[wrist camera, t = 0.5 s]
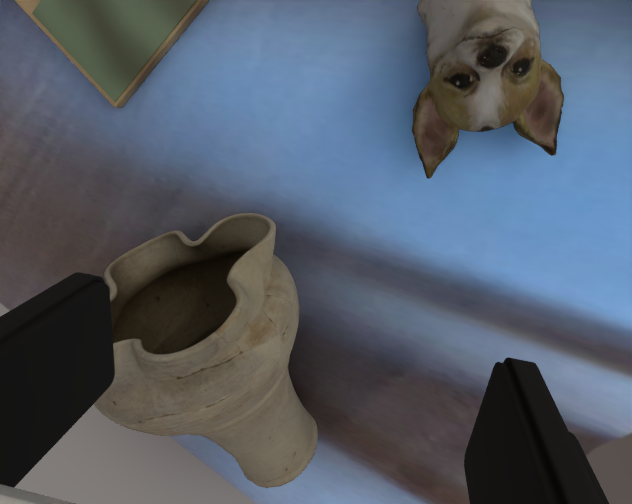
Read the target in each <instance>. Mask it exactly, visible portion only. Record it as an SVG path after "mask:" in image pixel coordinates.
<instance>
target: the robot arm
mask: <svg viewBox="0 0 632 504" xmlns="http://www.w3.org/2000/svg"><path fill="white" fill-rule="evenodd" d="M114 376H115V364H114V349H113V333H112V318H111V303H110V290H109V286H108V285H107V284H105V283H104V280H103V278H101V277H99V276H94V275H89V274H84V273H74V274H72V275H71V276H69V277H67V278H65V279H64V280H62V281H60V282H59V283H57V284H55V285H54V286H52V287H50V288H48V289H47V290H45V291H43V292H42V293H40V294H38V295H36V296H35V297H33V298H31V299H30V300H28V301H26V302H25V303H23V304H21V305H19V306H18V307H16V308H14V309H13V310H11V311H9V312H8V313H6V314H4V315H2V316H1V317H0V504H75V503H71V502H67V501H63V500H59V499H55V498H51V497H48V496H44V495H40V494H36V493H32V492H28V491H25V490H21V489H17V488H14V487H15V486H16V485H17V484H18V483H19V482H20V481H21V480H22V478H23V477H24V476H25V475H26V474H27V473H28V472H29V471H30V470H31V469H32V468H33V467H34V466H35V465H36V464H37V463H38V462H39V460H41V459H42V457H43V456H44V455H45V454H46V453H47V452H48V451H49V450H50V449H51V448H52V447H53V446H54V445H55V444H56V443H57V442H58V441H59V440H60V439H61V438H62V436H63V435H64V434H65V433H66V432H67V431H68V430H69V429H70V428H71V427H72V426H73V425H74V424H75V423H76V422H77V421H78V419H79V418H81V417H82V415H83V414H84V413H85V412H86V411H87V410H88V409H89V408H90V407H91V406H92V405H93V404H94V403H95V402H96V401H97V400H98V399H99V398H100V397H101V396H102V394H103V393H104V392H105V391H106V390H107V389H108V388H109V387H110V386H111V384H112V382H113V380H114ZM464 468H465V475H466V481H467V487H468V493H469V499H470V504H609V502H608V500H607V498H606V496H605V494H604V492H603V490H602V488H601V487H600V484H599V482H598V480H597V478H596V476H595V474H594V472H593V470H592V468H591V466H590V464H589V462H588V460H587V458H586V456H585V454H584V452H583V450H582V448H581V446H580V444H579V442H578V440H577V438H576V437H575V435H574V434H572V433H570V432H569V431H568V429H567V427H566V425H565V423H564V421H563V419H562V417H561V415H560V413H559V411H558V409H557V406H556V404H555V402H554V400H553V398H552V396H551V394H550V392H549V390H548V388H547V386H546V383H545V381H544V379H543V377H542V375H541V373H540V371H539V369H538V367H537V365H536V364H535V363H533V362H528V361H523V360H518V359H513V358H506V359H505V361H504V362H503V363H500V362H497V363H496V364H495V365H494V368H493V371H492V374H491V377H490V380H489V383H488V386H487V389H486V392H485V395H484V398H483V401H482V404H481V407H480V410H479V413H478V416H477V419H476V422H475V425H474V428H473V431H472V434H471V437H470V440H469V443H468V446H467V449H466V453H465V460H464Z"/></svg>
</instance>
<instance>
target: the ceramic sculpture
mask: <svg viewBox="0 0 632 504" xmlns="http://www.w3.org/2000/svg"><path fill="white" fill-rule="evenodd" d="M417 10H418V14H419V16H420V17H421V19H422V22H423V23H424V25H425V26H426V30H427V47H428V48H427V51H426V55H427V61H428V66H429V70H430V81H429V82H428V84H427V85H426V87H425V88H424V89H423V91H422V92H421V93H420V95H419V97H418V99H417V102H416V104H415V106H414V109H413V127H412V132H413V135H414V139H415V143H416V147H417V150H418V154H419V157H420V159H421V161H422V163H423V167H424V170H425V173H426V176H427V178H428V179H429V178H431V177H432V175H433V174H434V172H435V170H436V168H437V166H438V165H439V164H440V163H441V162H442V161H443V160H444V159H445V158H446V157H447V155H448V154H449V153H450V152H451V151H452V150H453V149H454V147H455V145H456V143H457V139H458V136H459V129H461V130H465V131H469V132H483V131H489V130H493V129H497V128H500V127H503V126H505V125H507V124H510V123H512V122H513V123H514V127H515V130H516V131H517V132H518V134H519V135H520V136H522V137H524V138H526V139H528V140H530V141H532V142H533V143H535V144H537V145H539V146H540V147H542V148H543V149H544V150H545V151H546V152H547V153H548V154H550V155H551V156H553V155H556V148H557V133H558V128H559V123H560V118H561V113H562V111H561V108H562V107H563V101H564V95H563V92H562V90H561V77H560V76H559V75H558V74H557V72H556V71H555V70H554V68H553V67H552V66H551V65H550V64H549V63H547V62H545V61H543V60H542V59H541V53H540V39H539V25H538V22H537V21H536V19H535V16H534V12H533V10H532V8H531V0H420V2H419V3H418V7H417Z"/></svg>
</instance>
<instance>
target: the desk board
mask: <svg viewBox="0 0 632 504" xmlns="http://www.w3.org/2000/svg"><path fill="white" fill-rule="evenodd" d="M15 1H16V3H17V4H18V5H19V6H20V7H21V8H22V9H23V10H24V11H25V12H26V13H27V14H28V15H29V16H30V18H31V19H32V20H33V21H34V22H35V23H36V24H37V25H38V26H39V27H40V28H41V29H42V30H43V31H44V33H45V34H46V35H47V36H48V37H49V38H50V39H51V40H52V41H53V42H54V43H55V44H56V45H57V46H58V48H59V49H60V50H61V51H62V52H63V53H64V54H65V55H66V56H67V57H68V58H69V59H70V60H71V61H72V63H73V64H74V65H75V66H76V67H77V68H78V69H79V70H80V71H81V72H82V73H83V74H84V75H85V76H86V78H87V79H88V80H89V81H90V82H91V83H92V84H93V85H94V86H95V87H96V88H97V89H98V90H99V91H100V92H101V94H102V95H103V96H104V97H105V98H106V99H107V100H108V101H109V102H110V103H111V104H112V105H113V106H114V107H115V108H119V107H123V106H124V105H125V103H126V102H127V101H128V100H129V99H130V97H131V96H132V95H133V94H134V92H135V91H136V90H137V89H138V87H139V86H140V85H141V84H142V83H143V81H144V80H145V79H146V78H147V76H148V75H149V74H150V73H151V71H152V70H153V69H154V68H155V67H156V65H157V64H158V63H159V62H160V60H161V59H162V58H163V57H164V56H165V54H166V53H167V52H168V51H169V49H170V48H171V47H172V46H173V44H174V43H175V42H176V41H177V40H178V38H179V37H180V36H181V35H182V33H183V32H184V31H185V30H186V29H187V27H188V26H189V25H190V24H191V22H192V21H193V20H194V19H195V17H196V16H197V15H198V14H199V13H200V11H201V10H202V9H203V8H204V6H205V5H206V4H207V3H208V1H209V0H15Z"/></svg>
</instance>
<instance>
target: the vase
mask: <svg viewBox="0 0 632 504" xmlns="http://www.w3.org/2000/svg"><path fill="white" fill-rule="evenodd" d="M275 237H276V225H275V223H274V222H273V221H272V220H271V219H270V218H268V217H266V216H264V215H260V214H255V213H241V214H235V215H231V216H229V217H226V218H224V219H222V220H220V221H218V222H217V223H216V224H214V225H213V226H212V227H211V228H210V229H209V230H208V231H207V232H206V233H205V234H204V235H203V236H202V237H201V238H200V239H199V240H197V241H191V240H190V239H189V238H188V237H187V236H186V235H185V234H184V233H182V232H181V231H171V232H168V233H165V234H163V235H160V236H158V237H156V238H153V239H151V240H149V241H147V242H145V243H143V244H141V245H139V246H137V247H136V248H134V249H132V250H130V251H129V252H127V253H125V254H124V255H122V256H120V257H119V258H117V259H116V260H115V261H113V262H112V263H111V264H110V265H109V266H108V267H107V268H106V270H105V273H104V277H105V281H106V284H107V285H108V286H109V290H110V303H111V318H112V333H113V349H114V364H115V376H114V380H113V382H112V384H111V386H110V387H109V388H108V389H107V390H106V391H105V392H104V393H103V394H102V396H101V397H100V398H99V399H98V400H97V401H96V402H95V403H94V405H95V407H96V408H97V409H98V410H99V411H100V412H101V413H102V414H103V415H105V416H106V417H108V418H109V419H110V420H112V421H114V422H116V423H117V424H120V425H122V426H124V427H126V428H129V429H132V430H136V431H140V432H144V433H149V434H154V435H161V436H177V435H185V434H191V435H202V436H204V437H206V438H208V439H210V440H212V441H213V442H215V443H216V444H218V445H219V446H221V447H222V448H223V449H224V450H226V451H227V452H228V453H230V454H231V455H232V456H233V457H234V458H235V459H236V461H237V462H238V464H239V466H240V467H241V469H242V471H243V473H244V475H245V476H246V478H247V479H248V480H250V481H252V482H253V483H254V484H256V485H258V486H260V487H265V488H268V487H276V486H282V485H284V484H287V483H288V482H290V481H292V480H294V479H295V478H296V477H297V476H298V475H299V474H301V472H302V471H303V470H304V469H305V468H306V466H307V465H308V464H309V462H310V460H311V459H312V458H313V455H314V451H315V449H316V447H317V439H318V433H317V425H316V422H315V420H314V418H312V416H311V415H310V414H309V413H308V412H307V411H306V409H305V408H304V407H303V405H302V404H301V402H300V400H299V398H298V396H297V394H296V392H295V390H294V387H293V385H292V382H291V379H290V376H289V371H288V364H289V359H290V353H291V350H292V348H293V344H294V341H295V338H296V333H297V328H298V323H299V301H298V295H297V289H296V286H295V283H294V280H293V277H292V275H291V273H290V271H289V270H288V268H287V267H286V265H285V264H284V263H283V261H282V260H280V259H279V258H278V257H277V256H276V255H274V254H273V251H274V245H275Z"/></svg>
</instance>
